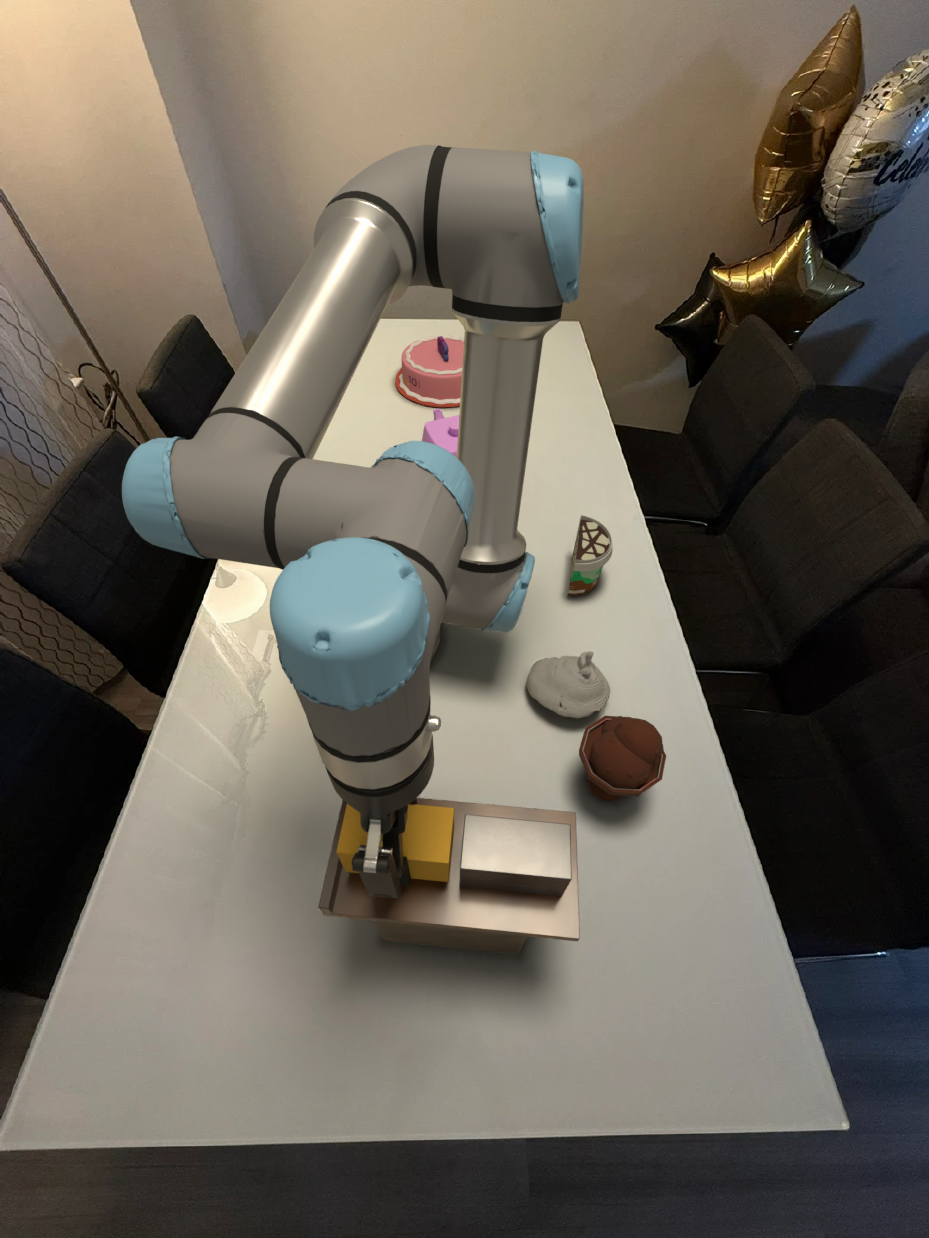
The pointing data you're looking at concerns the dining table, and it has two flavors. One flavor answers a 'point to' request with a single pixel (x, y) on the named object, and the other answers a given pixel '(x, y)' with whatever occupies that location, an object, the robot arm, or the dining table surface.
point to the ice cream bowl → (621, 757)
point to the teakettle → (442, 432)
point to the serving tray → (477, 883)
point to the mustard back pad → (409, 841)
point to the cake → (432, 371)
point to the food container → (588, 556)
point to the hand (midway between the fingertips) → (401, 849)
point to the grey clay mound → (569, 685)
